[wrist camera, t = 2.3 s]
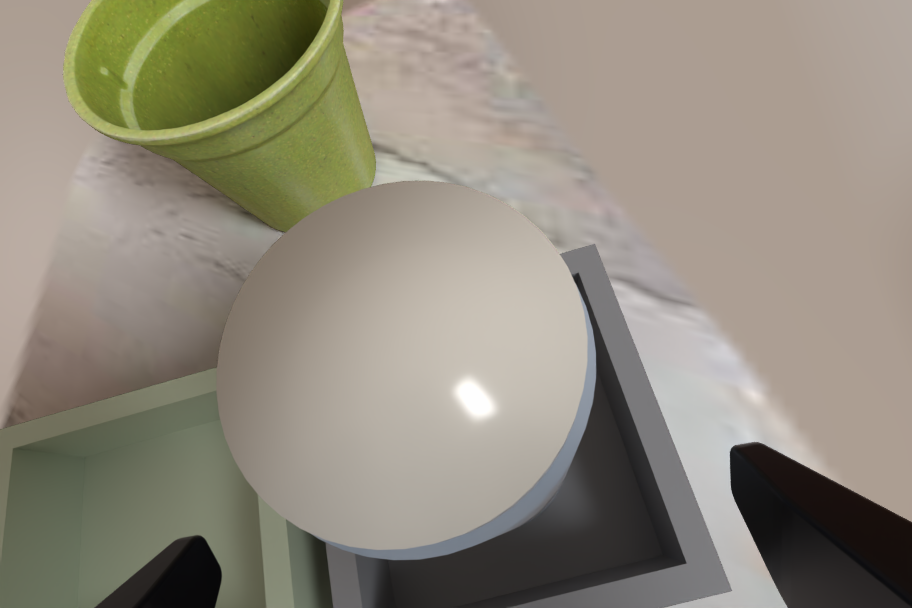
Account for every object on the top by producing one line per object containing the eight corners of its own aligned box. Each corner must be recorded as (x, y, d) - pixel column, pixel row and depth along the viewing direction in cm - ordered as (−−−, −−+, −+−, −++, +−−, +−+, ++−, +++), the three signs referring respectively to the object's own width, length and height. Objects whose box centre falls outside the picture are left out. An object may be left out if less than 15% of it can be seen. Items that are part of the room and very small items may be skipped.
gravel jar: (588, 509, 17) (670, 499, 5) (438, 547, 17) (214, 616, 6) (542, 363, 19) (531, 128, 7) (409, 400, 19) (198, 230, 8)
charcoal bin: (695, 575, 16) (732, 591, 13) (382, 652, 17) (342, 685, 14) (587, 287, 20) (594, 243, 17) (338, 357, 21) (299, 329, 18)
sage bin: (352, 678, 17) (305, 718, 13) (60, 749, 17) (-52, 803, 14) (313, 377, 21) (270, 351, 17) (78, 443, 21) (-6, 431, 18)
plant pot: (190, 260, 24) (9, 132, 16) (253, 95, 27) (129, -80, 19) (385, 280, 22) (289, 145, 14) (429, 99, 25) (372, -95, 17)
